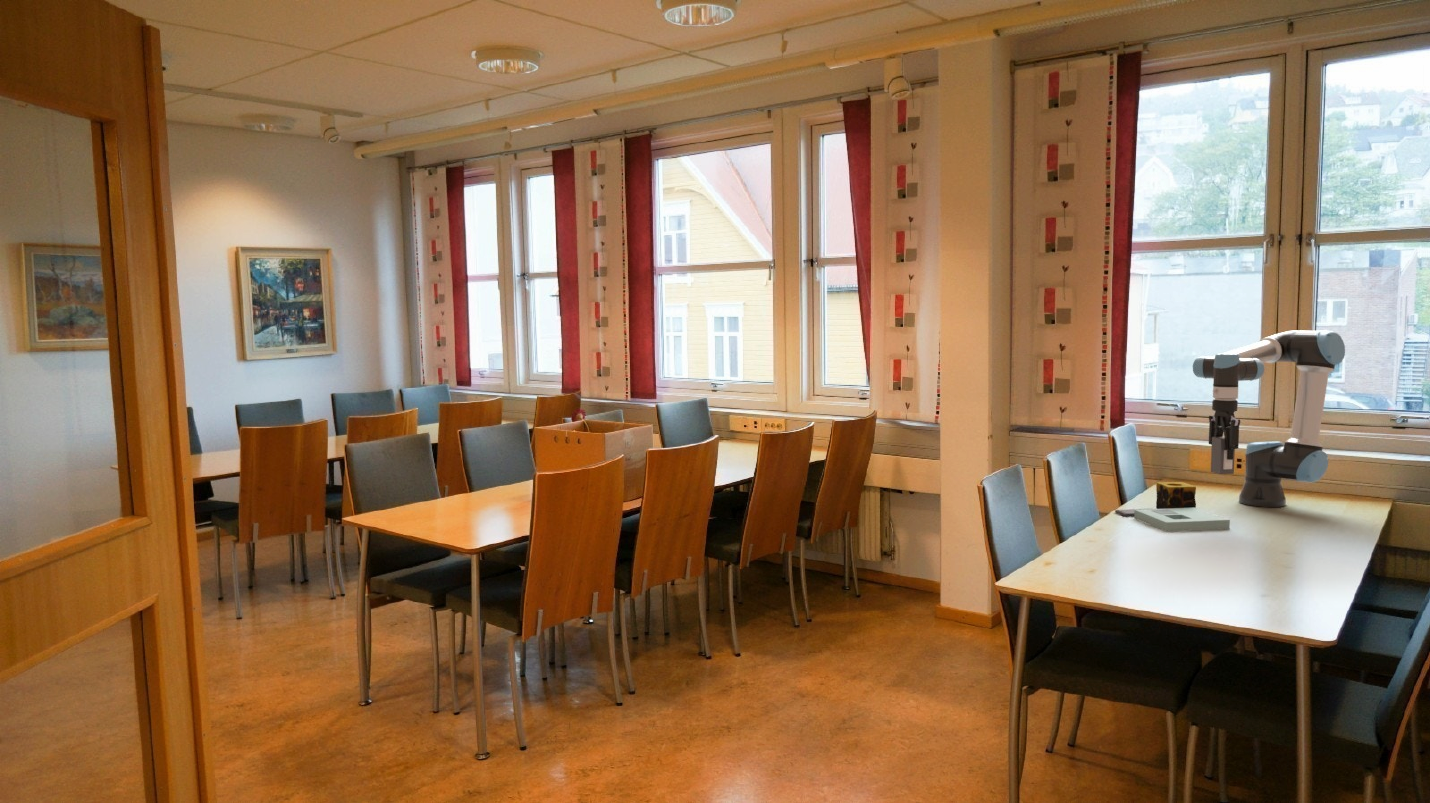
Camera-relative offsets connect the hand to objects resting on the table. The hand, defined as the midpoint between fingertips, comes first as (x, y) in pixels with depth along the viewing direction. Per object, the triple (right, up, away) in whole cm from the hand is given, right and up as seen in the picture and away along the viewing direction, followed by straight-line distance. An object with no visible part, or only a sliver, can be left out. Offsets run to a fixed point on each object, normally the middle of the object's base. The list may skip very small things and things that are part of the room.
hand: (1222, 467), depth 322 cm
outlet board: (-13, -19, +3) cm, 23 cm away
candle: (-5, -18, +22) cm, 29 cm away
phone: (-20, -18, +18) cm, 33 cm away
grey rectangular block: (0, -2, 0) cm, 2 cm away
